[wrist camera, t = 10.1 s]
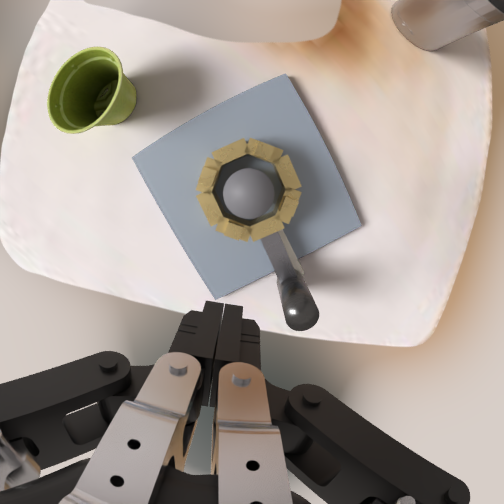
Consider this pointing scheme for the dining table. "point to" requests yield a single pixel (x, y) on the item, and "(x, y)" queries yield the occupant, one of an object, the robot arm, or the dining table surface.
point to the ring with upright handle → (263, 223)
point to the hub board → (222, 130)
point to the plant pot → (90, 92)
